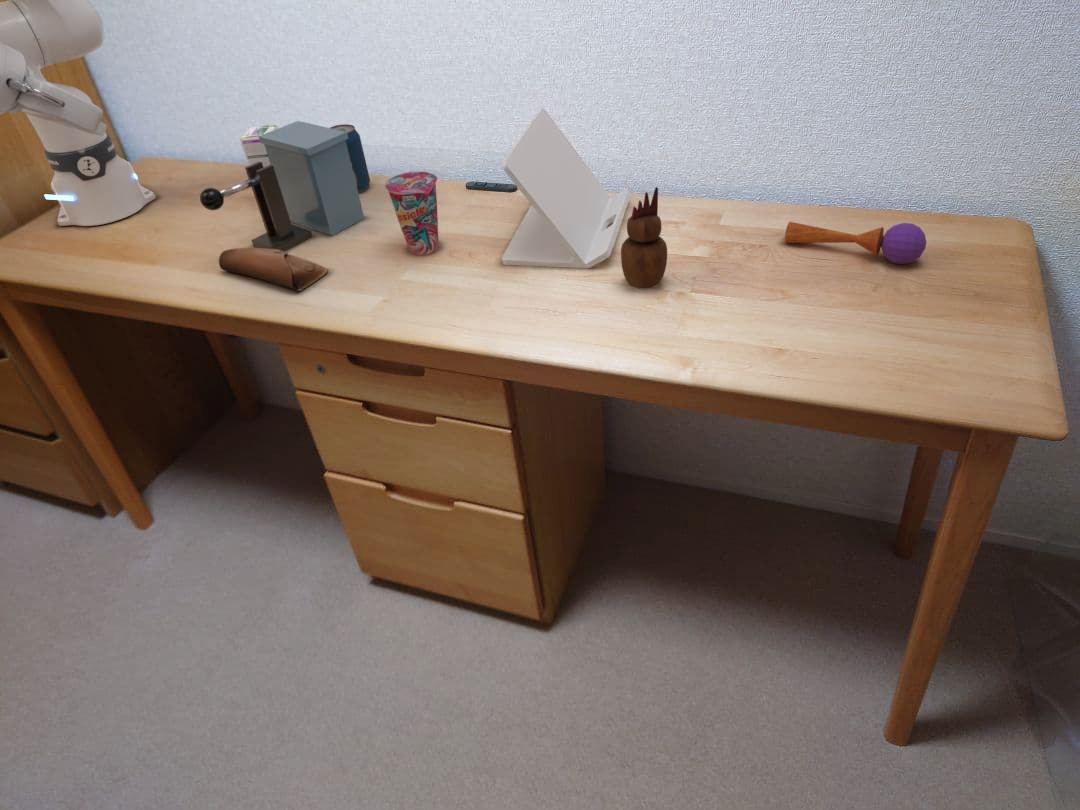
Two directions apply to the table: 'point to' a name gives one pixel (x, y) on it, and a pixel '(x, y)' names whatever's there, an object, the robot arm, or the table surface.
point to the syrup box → (256, 145)
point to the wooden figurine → (644, 246)
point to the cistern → (314, 176)
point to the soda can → (356, 156)
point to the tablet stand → (560, 202)
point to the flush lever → (224, 193)
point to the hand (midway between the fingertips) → (100, 129)
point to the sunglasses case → (272, 266)
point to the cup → (416, 209)
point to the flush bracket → (274, 212)
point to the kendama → (867, 240)
